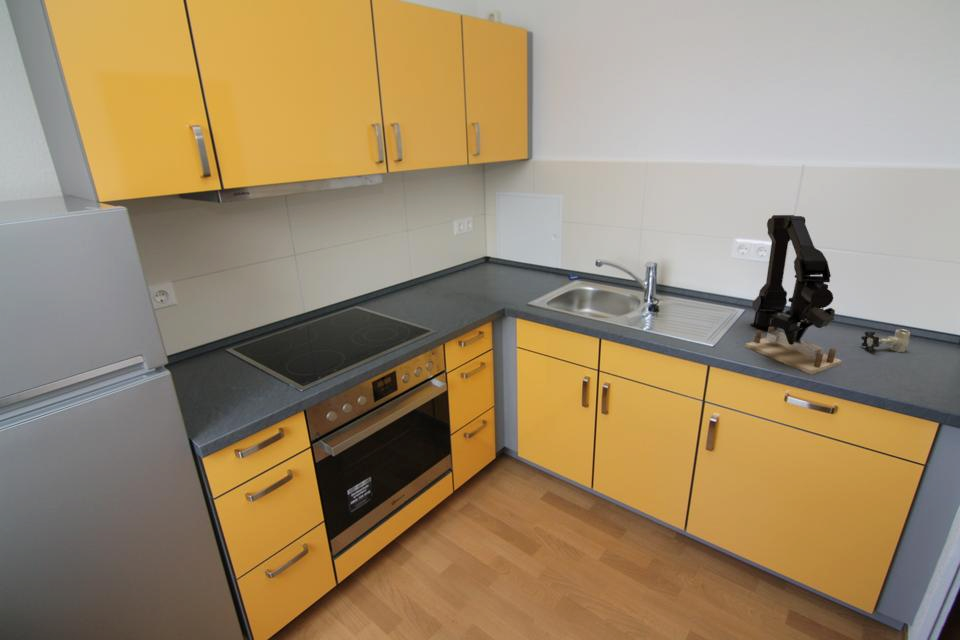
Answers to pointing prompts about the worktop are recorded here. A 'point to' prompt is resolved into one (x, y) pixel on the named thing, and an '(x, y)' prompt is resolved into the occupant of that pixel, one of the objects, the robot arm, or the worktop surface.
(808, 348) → the beige stepped post
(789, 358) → the peg board
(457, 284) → the worktop surface
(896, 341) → the valve
